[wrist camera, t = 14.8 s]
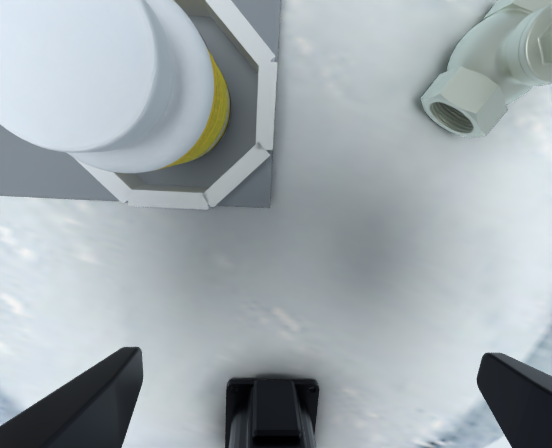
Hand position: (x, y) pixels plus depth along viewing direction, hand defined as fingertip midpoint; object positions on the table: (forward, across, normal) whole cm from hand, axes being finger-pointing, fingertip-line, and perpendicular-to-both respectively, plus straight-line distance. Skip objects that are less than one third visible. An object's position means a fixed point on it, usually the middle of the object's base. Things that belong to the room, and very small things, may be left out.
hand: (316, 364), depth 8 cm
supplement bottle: (+10, +6, -7) cm, 14 cm away
